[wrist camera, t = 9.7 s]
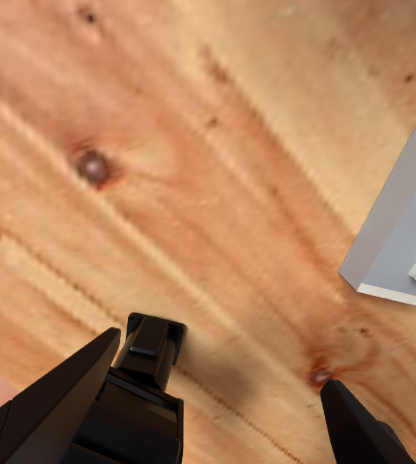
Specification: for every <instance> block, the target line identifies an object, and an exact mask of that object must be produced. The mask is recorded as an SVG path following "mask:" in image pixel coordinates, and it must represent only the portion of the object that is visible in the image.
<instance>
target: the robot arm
mask: <svg viewBox="0 0 416 464" xmlns="http://www.w3.org/2000/svg"><path fill="white" fill-rule="evenodd" d="M133 317H134V318H133ZM180 328H181V329H180ZM184 328H185V327H184V325H183V324H180V323H176V322H172V321H168V320H163V319H159V318H155V317H151V316H146V315H142V314H138V313H131V314H130V315H129V317H128V324H127V333H126V342H125V344H124V346H123V348H122V350H121V351H120V353H119V355H118V357H117V359H116V361H115V363H114V365H113V366H111V363H112V361H113V359H114V357H115V354H116V352H117V350H118V348H119V345H120V336H121V329H119V328H115V327H111V328H109V329H107V330H106V331H105V332H103V333H102V334H101V335H99V336H98V337H96V338H95V339H94V340H92V341H91V342H89V343H88V344H87V345H85V346H84V347H83V348H81V349H80V350H78V351H77V352H76V353H74V354H73V355H72V356H70V357H69V358H67V359H66V360H65V361H63V362H62V363H60V364H59V365H58V366H56V367H55V368H54V369H52V370H51V371H49V372H48V373H47V374H45V375H44V376H42V377H41V378H40V379H38V380H37V381H36V382H34V383H33V384H31V385H30V386H29V387H27V388H26V389H25V390H23V391H22V392H20V393H19V394H18V395H16V396H15V397H14V398H13V399H12V400H9V401H8V402H6V403H5V404H4V405H2V406H1V407H0V464H182V458H183V417H184V401H183V400H182V399H180V398H178V399H177V398H175V397H173V396H171V395H169V394H167V393H165V391H166V387H167V383H168V379H169V375H170V371H171V367H172V365H175V364H176V361H177V357H178V353H179V349H180V345H181V341H182V336H183V332H184ZM320 396H321V401H322V406H323V410H324V415H325V420H326V424H327V429H328V434H329V438H330V442H331V446H332V449H333V453H334V456H335V459H336V463H337V464H416V463H415V462H414V461H413V459H412V458H411V457H410V456H409V455H408V454H407V453H406V452H405V451H404V450H403V449H402V448H401V446H400V445H399V444H398V443H397V442H396V441H395V440H394V439H393V438H392V437H391V436H390V434H389V433H388V432H387V431H386V430H385V429H384V428H383V427H382V426H381V425H380V424H379V423H378V421H377V420H376V419H375V418H374V417H373V416H372V415H371V414H370V413H369V412H368V411H367V409H366V408H365V407H364V406H363V405H362V404H361V403H360V402H359V401H358V400H357V399H356V398H355V396H354V395H353V394H352V393H351V392H350V391H349V390H348V389H347V388H346V387H345V386H344V384H343V383H342V382H341V381H339V380H336V379H332V378H329V379H328V380H327V381H326V383H325V384H324V386H323V387H322V389H321V391H320Z"/></svg>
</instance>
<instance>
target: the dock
mask: <svg viewBox="0 0 416 464" xmlns="http://www.w3.org/2000/svg"><path fill="white" fill-rule="evenodd" d="M415 263H416V127H415V129H414V130H413V132H412V134H411V136H410V138H409V140H408V142H407V144H406V145H405V147H404V149H403V151H402V153H401V155H400V157H399V159H398V160H397V162H396V164H395V166H394V168H393V170H392V172H391V174H390V175H389V177H388V179H387V181H386V183H385V185H384V187H383V189H382V190H381V192H380V194H379V196H378V198H377V200H376V202H375V204H374V205H373V207H372V209H371V211H370V213H369V215H368V217H367V219H366V220H365V222H364V224H363V226H362V228H361V230H360V232H359V233H358V235H357V237H356V239H355V241H354V243H353V245H352V247H351V248H350V250H349V252H348V254H347V256H346V258H345V260H344V262H343V263H342V265H341V267H340V269H339V271H338V272H339V273H340V274H341V275H342V276H343V277H344V278H345V279H346V281H347V282H348V283H349V284H350V285H351V286H352V287H353V288H354V289H355V290H356V291H357V292H361V293H365V294H369V295H374V296H378V297H382V298H386V299H390V300H395V301H399V302H403V303H407V304H411V305H416V280H415V279H414V278H413V277H411V276H410V275H408V273H409V272H410V270H411V269H412V268H413V266H414V265H415Z"/></svg>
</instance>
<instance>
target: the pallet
mask: <svg viewBox="0 0 416 464" xmlns="http://www.w3.org/2000/svg"><path fill="white" fill-rule="evenodd" d="M408 275H410V276H411V277H413V278H414V279H415V280H416V263H415V265H414V266H413V268H412V269H411V270H410V272H409V273H408Z"/></svg>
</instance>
